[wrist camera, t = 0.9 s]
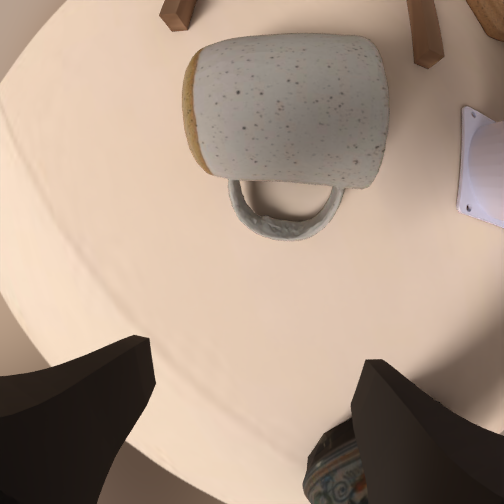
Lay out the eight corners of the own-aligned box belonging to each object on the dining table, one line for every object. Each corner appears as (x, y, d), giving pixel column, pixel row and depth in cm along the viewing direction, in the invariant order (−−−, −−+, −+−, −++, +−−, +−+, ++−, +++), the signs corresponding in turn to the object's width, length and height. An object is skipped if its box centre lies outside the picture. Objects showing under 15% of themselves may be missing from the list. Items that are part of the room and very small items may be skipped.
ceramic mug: (217, 74, 15) (175, 13, 7) (345, 73, 14) (381, 11, 7) (220, 236, 17) (175, 273, 10) (351, 236, 16) (399, 274, 9)
